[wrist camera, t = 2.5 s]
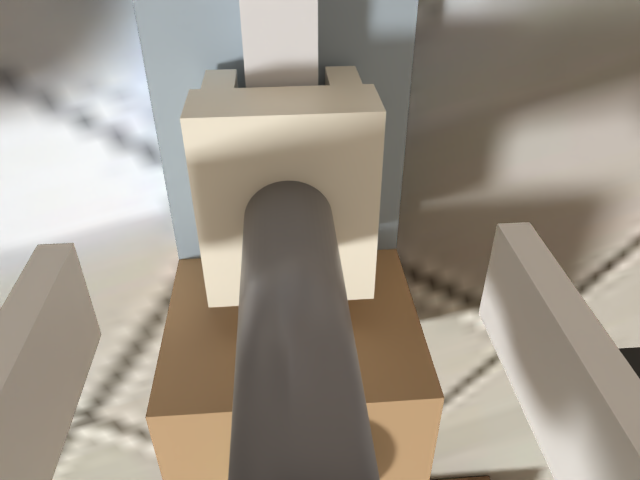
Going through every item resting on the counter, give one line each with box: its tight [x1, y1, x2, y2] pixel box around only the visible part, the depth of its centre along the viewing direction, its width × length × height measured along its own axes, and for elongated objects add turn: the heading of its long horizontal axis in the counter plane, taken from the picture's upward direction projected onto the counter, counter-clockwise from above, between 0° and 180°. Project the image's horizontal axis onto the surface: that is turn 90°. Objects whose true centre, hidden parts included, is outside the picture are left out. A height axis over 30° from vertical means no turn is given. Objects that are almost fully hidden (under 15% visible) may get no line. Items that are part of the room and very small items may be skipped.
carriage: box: [180, 66, 386, 480], centre depth 13 cm, size 6×5×14 cm
